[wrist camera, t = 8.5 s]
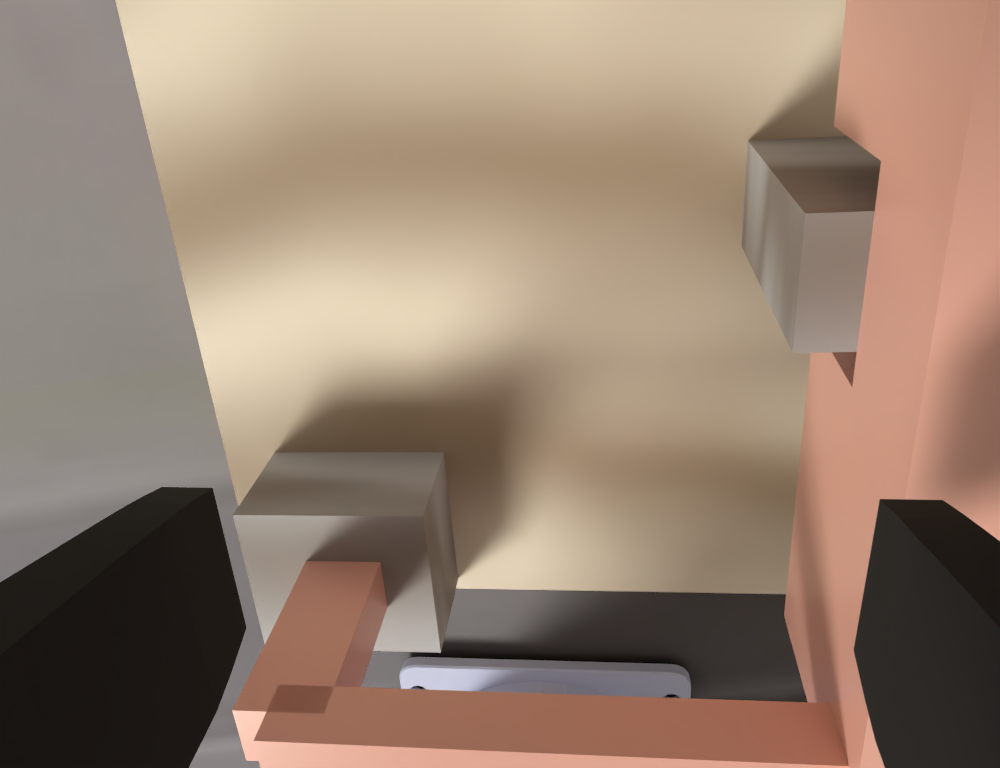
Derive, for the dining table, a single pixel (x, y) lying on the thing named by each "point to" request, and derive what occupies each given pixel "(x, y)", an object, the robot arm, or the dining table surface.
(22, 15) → the dining table surface
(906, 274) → the pink notched tray
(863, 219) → the display stand
